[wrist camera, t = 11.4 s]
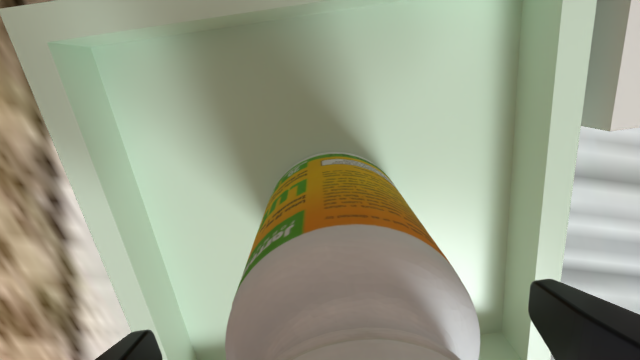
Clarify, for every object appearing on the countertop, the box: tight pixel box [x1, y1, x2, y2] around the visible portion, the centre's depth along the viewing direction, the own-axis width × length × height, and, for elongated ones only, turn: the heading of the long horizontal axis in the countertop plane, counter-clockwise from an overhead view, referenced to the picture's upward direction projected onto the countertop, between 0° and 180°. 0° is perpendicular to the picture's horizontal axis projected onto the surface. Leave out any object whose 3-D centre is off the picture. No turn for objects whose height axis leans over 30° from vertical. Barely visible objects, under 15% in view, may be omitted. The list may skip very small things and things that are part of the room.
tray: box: [0, 0, 597, 360], centre depth 13 cm, size 17×17×2 cm
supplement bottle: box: [225, 152, 480, 360], centre depth 9 cm, size 5×5×10 cm
